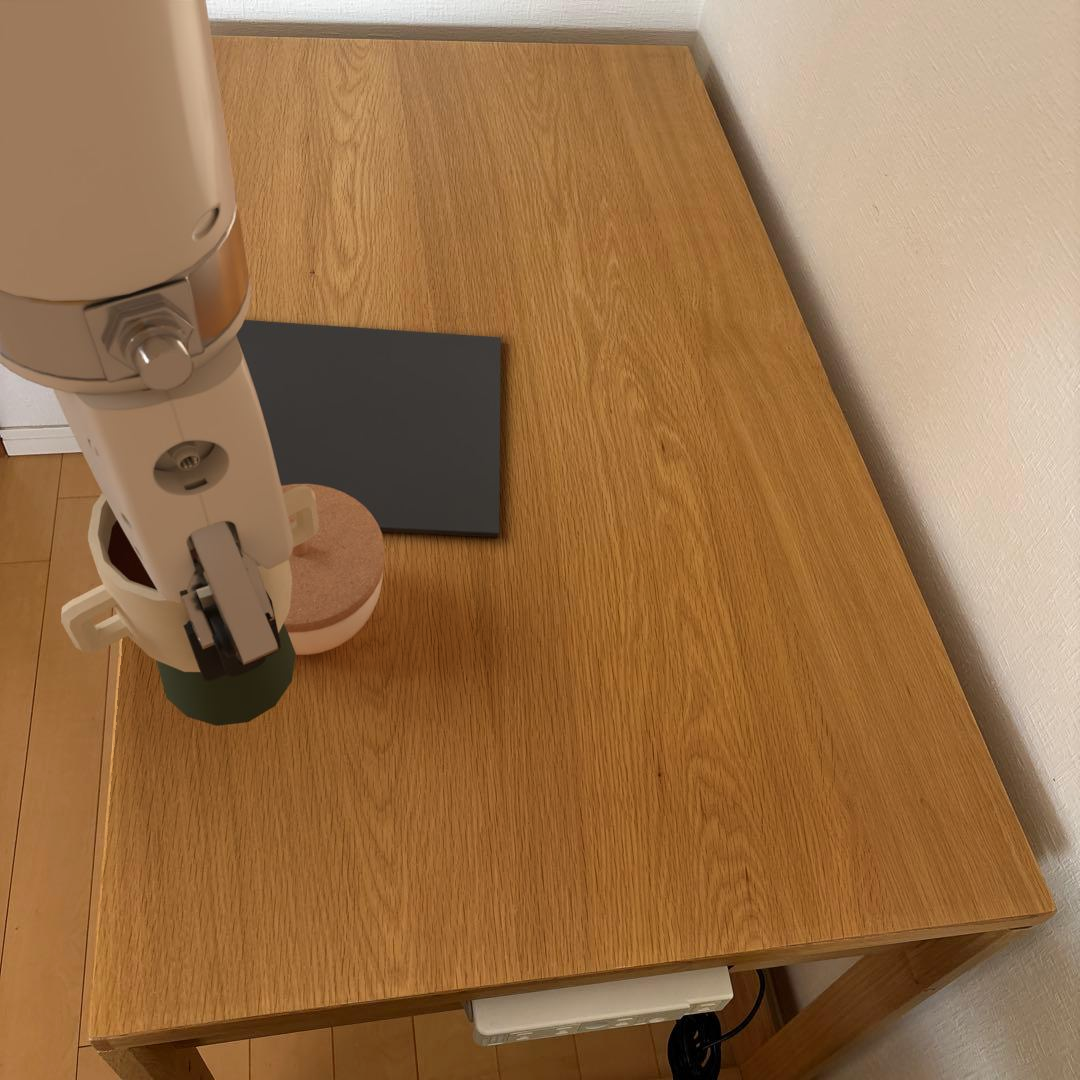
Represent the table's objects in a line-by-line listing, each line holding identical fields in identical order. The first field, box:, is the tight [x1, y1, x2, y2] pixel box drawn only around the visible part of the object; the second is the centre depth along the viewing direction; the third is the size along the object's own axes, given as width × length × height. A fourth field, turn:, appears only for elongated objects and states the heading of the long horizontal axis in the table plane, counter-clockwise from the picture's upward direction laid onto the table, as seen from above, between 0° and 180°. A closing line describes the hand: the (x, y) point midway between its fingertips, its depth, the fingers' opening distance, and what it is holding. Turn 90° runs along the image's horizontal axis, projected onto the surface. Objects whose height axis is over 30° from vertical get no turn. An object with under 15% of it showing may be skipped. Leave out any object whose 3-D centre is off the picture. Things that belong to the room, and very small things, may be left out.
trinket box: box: [281, 484, 386, 656], centre depth 67 cm, size 11×11×9 cm
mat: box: [236, 319, 502, 538], centre depth 80 cm, size 22×20×1 cm
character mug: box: [60, 485, 319, 727], centre depth 44 cm, size 11×7×13 cm, turn 128°
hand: (204, 583), depth 43 cm, fingers closed on character mug, 7 cm apart
